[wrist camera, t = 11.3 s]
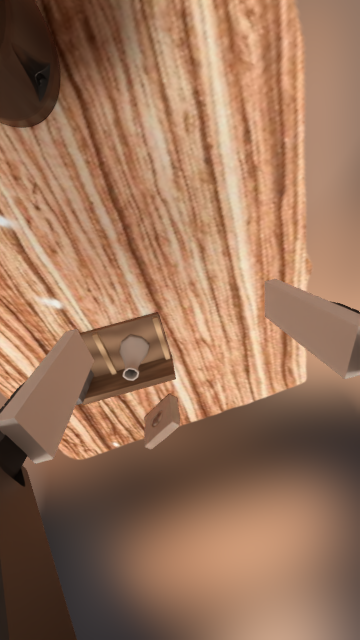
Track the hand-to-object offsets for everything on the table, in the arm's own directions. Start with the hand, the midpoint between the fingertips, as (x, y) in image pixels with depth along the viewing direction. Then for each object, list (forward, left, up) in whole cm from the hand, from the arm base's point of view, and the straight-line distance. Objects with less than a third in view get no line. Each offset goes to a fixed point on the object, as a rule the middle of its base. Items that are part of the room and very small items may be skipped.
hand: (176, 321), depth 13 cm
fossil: (+42, -12, -31) cm, 54 cm away
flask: (+18, -12, -29) cm, 36 cm away
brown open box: (+18, -15, -30) cm, 38 cm away
